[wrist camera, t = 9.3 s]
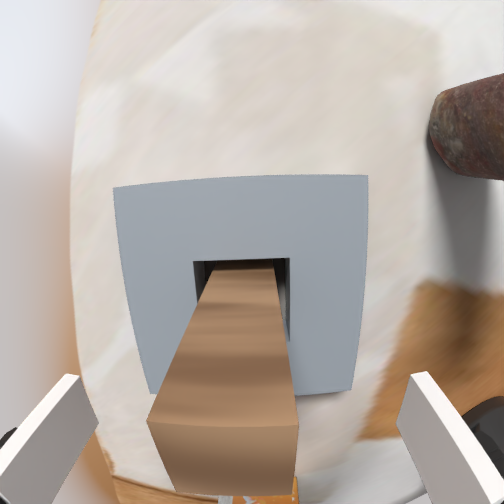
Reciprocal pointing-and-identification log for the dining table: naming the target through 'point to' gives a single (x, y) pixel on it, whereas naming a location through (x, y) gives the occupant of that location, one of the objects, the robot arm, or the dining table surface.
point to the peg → (230, 391)
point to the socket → (249, 247)
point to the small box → (263, 498)
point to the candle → (471, 128)
